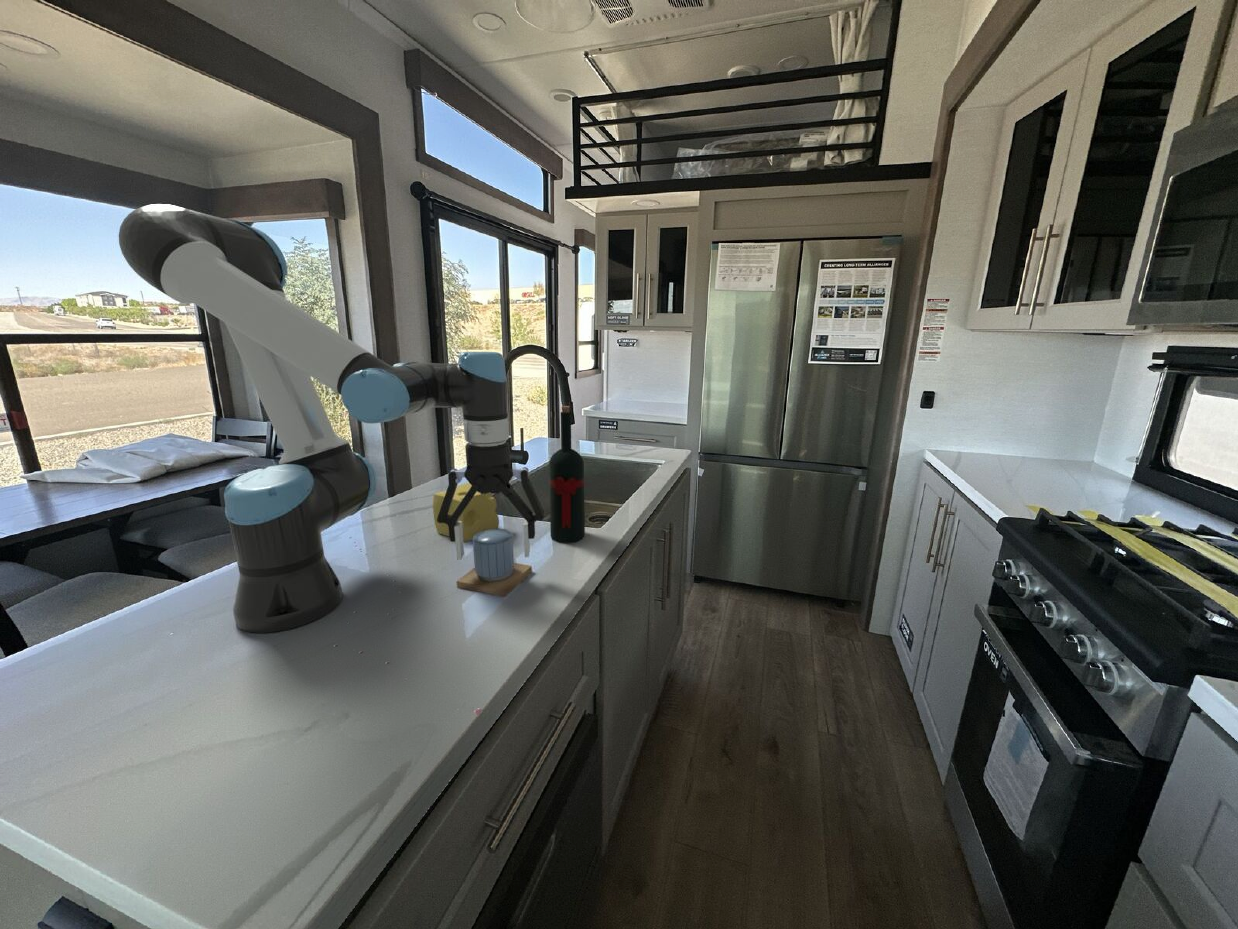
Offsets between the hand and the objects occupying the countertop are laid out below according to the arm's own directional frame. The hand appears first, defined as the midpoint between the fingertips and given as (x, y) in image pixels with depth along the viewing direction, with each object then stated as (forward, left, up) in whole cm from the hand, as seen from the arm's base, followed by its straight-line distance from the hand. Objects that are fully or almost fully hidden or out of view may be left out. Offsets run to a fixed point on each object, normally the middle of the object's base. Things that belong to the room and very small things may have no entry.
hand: (494, 555), depth 91 cm
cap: (0, 0, -3) cm, 3 cm away
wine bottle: (+5, +22, -5) cm, 23 cm away
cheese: (-19, +18, -5) cm, 27 cm away
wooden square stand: (0, 0, -5) cm, 5 cm away
